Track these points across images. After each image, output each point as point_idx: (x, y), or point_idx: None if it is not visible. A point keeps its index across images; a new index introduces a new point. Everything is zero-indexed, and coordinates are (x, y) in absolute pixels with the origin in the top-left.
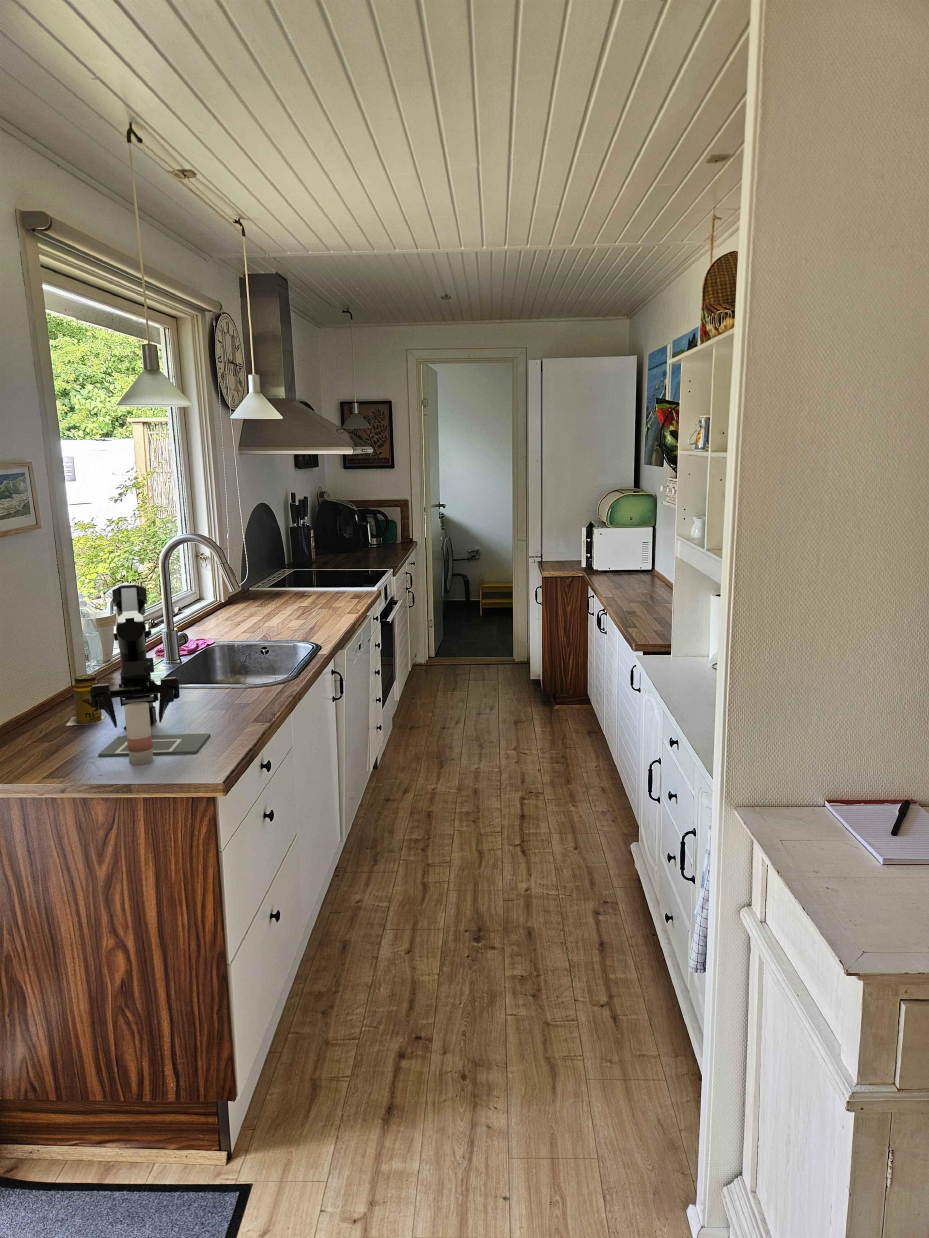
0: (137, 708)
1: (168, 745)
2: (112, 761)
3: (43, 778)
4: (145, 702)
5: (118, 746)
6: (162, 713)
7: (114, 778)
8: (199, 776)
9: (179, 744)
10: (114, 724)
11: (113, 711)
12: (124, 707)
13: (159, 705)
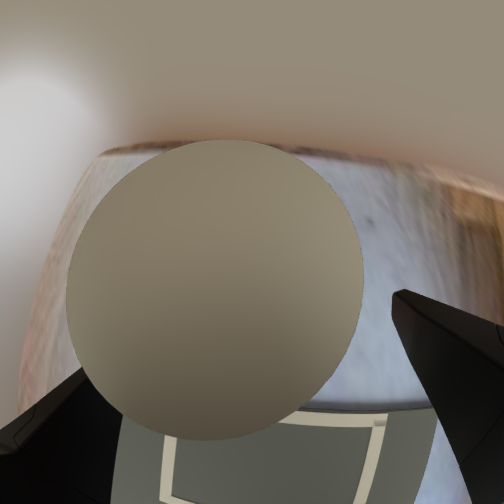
0: (172, 153)
1: (192, 461)
2: (379, 354)
3: (497, 228)
4: (94, 383)
5: (382, 485)
6: (74, 374)
7: None
8: (112, 185)
9: (157, 456)
10: (409, 291)
11: (471, 337)
12: (345, 212)
13: (51, 412)
